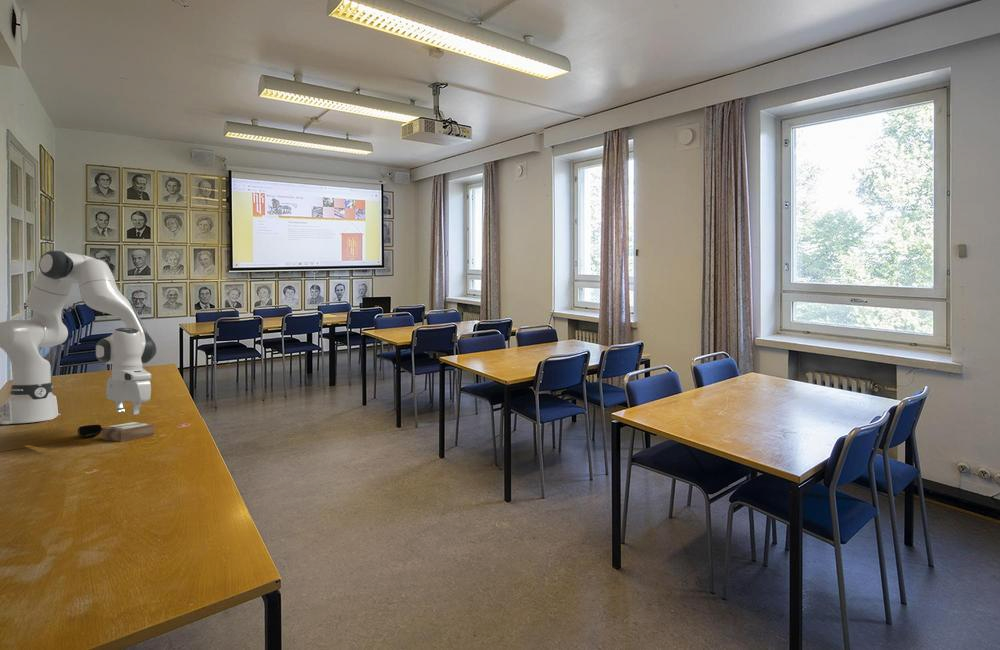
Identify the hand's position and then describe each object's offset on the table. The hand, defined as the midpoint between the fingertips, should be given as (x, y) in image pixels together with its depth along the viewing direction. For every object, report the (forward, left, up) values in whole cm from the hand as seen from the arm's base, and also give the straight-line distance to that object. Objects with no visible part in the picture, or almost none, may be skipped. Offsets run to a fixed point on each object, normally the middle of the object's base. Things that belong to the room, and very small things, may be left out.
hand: (127, 413), depth 187 cm
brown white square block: (0, 0, -8) cm, 8 cm away
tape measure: (-10, -4, -8) cm, 13 cm away
